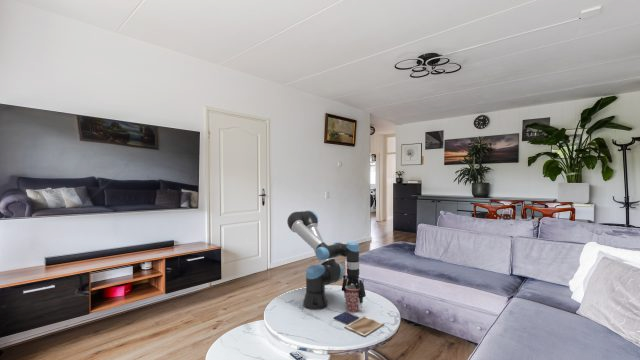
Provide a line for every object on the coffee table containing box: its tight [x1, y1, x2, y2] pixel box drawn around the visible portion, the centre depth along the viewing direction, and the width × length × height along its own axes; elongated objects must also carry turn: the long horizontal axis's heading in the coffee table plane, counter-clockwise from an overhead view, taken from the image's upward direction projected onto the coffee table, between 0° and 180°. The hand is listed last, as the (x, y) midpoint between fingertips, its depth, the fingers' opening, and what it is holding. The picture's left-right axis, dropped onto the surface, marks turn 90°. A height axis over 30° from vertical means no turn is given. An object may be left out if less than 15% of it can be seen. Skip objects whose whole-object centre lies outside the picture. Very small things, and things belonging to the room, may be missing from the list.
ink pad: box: [333, 311, 360, 326], centre depth 160 cm, size 10×10×1 cm
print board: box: [344, 315, 385, 338], centre depth 151 cm, size 13×17×1 cm
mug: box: [345, 284, 360, 313], centre depth 173 cm, size 13×9×14 cm
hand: (353, 305), depth 173 cm, fingers closed on mug, 9 cm apart
